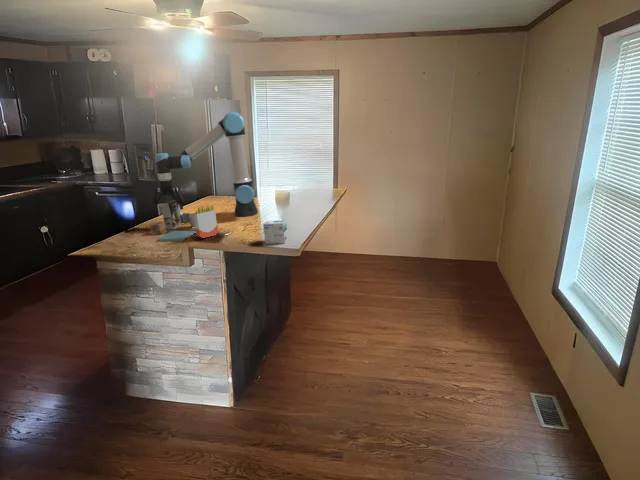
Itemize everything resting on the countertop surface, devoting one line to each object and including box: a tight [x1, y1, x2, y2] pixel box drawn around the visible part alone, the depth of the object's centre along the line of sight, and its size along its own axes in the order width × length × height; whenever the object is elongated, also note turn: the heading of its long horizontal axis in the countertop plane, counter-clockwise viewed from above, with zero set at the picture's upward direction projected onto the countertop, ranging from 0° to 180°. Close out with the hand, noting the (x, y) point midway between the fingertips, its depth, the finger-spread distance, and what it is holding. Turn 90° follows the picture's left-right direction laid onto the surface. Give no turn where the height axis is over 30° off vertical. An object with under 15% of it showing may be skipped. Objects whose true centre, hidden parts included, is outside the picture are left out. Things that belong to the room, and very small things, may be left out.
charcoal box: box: [180, 212, 191, 224], centre depth 278 cm, size 6×8×5 cm
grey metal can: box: [189, 212, 195, 228], centre depth 263 cm, size 6×6×8 cm
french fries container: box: [194, 204, 219, 239], centre depth 237 cm, size 5×11×18 cm, turn 133°
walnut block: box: [149, 221, 167, 236], centre depth 255 cm, size 6×6×6 cm
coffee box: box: [160, 199, 183, 230], centre depth 265 cm, size 9×6×16 cm
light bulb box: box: [262, 219, 289, 245], centre depth 222 cm, size 11×7×11 cm, turn 81°
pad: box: [157, 230, 196, 242], centre depth 245 cm, size 16×16×1 cm
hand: (170, 214), depth 265 cm, fingers open, 13 cm apart
